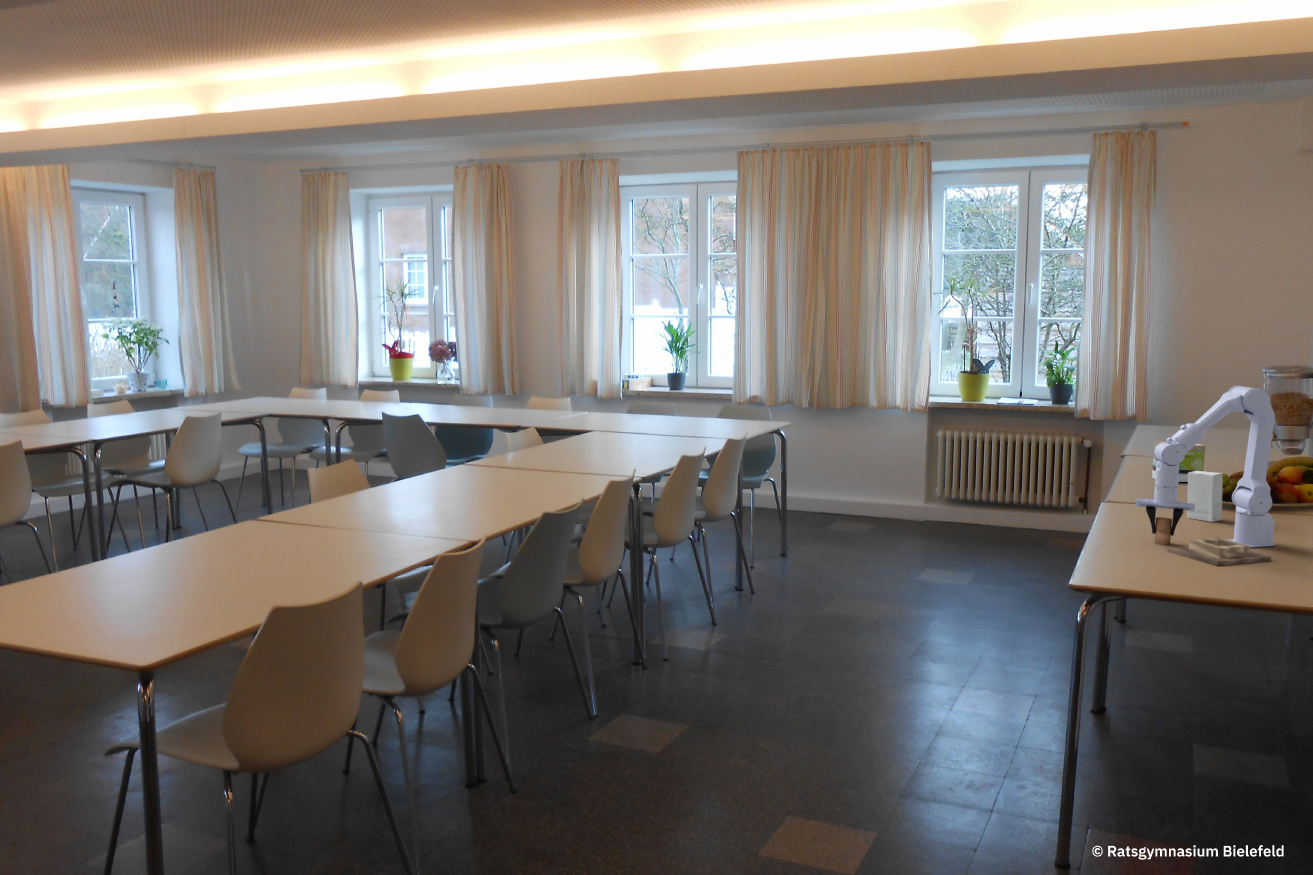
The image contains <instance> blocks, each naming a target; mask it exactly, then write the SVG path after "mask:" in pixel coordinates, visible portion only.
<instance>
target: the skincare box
mask: <svg viewBox="0 0 1313 875" xmlns="http://www.w3.org/2000/svg"><path fill="white" fill-rule="evenodd" d="M1186 498H1187V499H1186V500H1187V502H1186V503H1195V508H1194V511H1189V510H1186V519H1190V518H1191V519H1192V520H1196V521H1197V520H1199V521H1204V522H1208V523H1209V522H1212V523H1214V522H1219V521H1222V518H1223V517H1222V514H1223V472H1215V471H1204V470H1203V471H1193V472H1189V473H1188V483H1187V496H1186ZM1191 519H1190V520H1191Z"/></svg>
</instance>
